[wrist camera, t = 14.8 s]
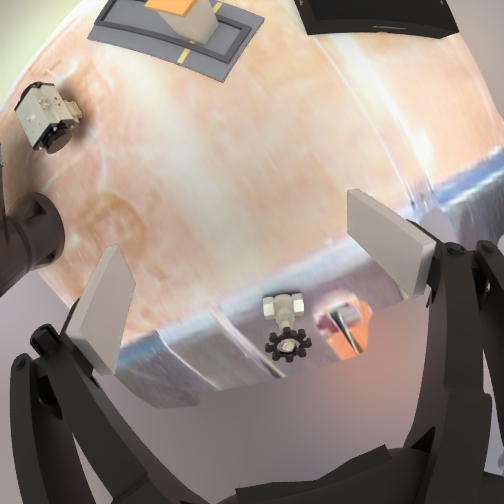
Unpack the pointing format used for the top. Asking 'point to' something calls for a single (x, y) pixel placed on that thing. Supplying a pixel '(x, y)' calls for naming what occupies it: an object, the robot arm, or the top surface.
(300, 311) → the valve
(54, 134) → the pneumatic valve
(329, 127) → the top surface
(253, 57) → the top surface
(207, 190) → the top surface
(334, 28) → the box
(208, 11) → the fader knob
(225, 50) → the slider console
